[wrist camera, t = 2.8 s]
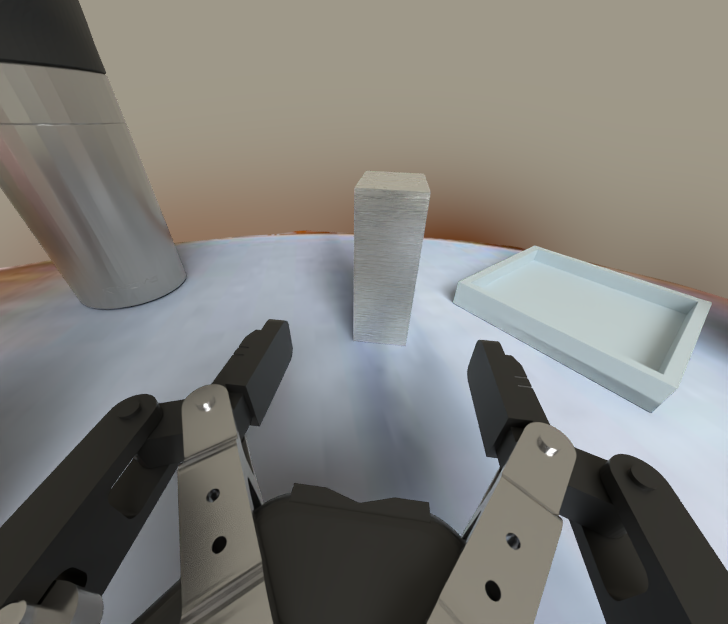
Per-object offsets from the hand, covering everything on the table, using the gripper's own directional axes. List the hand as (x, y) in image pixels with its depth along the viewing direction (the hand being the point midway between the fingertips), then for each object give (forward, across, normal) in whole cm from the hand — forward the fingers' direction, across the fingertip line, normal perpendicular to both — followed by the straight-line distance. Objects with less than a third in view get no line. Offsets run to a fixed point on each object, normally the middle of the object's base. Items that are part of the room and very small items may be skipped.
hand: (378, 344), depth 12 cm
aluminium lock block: (+11, 0, +7) cm, 14 cm away
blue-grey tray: (+16, -18, +7) cm, 25 cm away
